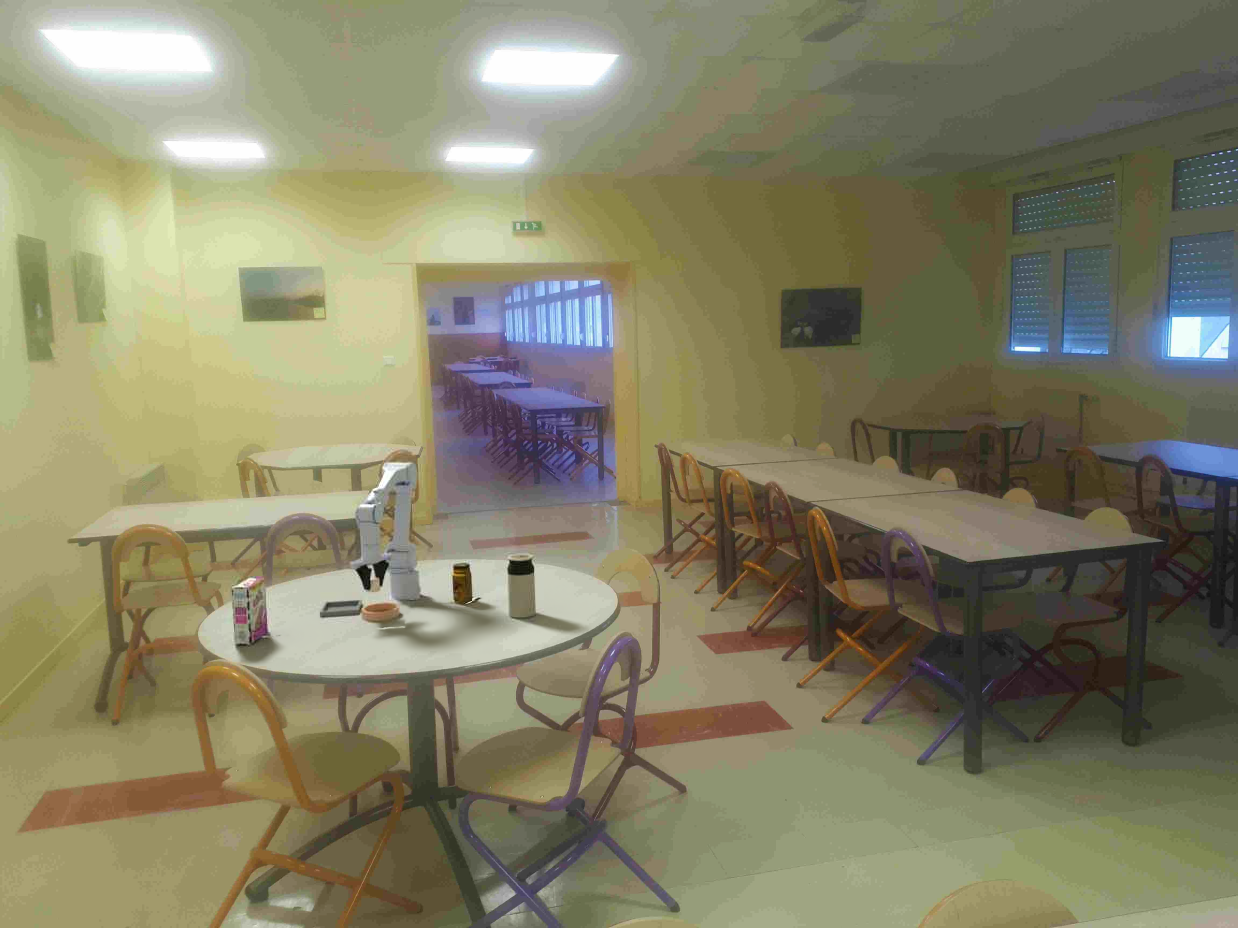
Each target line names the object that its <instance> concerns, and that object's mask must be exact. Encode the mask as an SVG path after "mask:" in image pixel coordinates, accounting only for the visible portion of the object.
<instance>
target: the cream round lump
mask: <svg viewBox="0 0 1238 928" xmlns="http://www.w3.org/2000/svg"><path fill="white" fill-rule="evenodd" d="M370 583H371V588H370V590H365V591H366V593H376V592H380V591H381V587H380V580H379V578H378V577H375V576H374V577H373V576H371V578H370Z"/></svg>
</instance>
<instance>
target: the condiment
mask: <svg viewBox="0 0 1238 928" xmlns="http://www.w3.org/2000/svg"><path fill="white" fill-rule="evenodd" d="M452 568H453V569H452V574H451V575H452V576H451V578H452V593H453V594H452V598H453V600H454V603H453V602H452V603H451V602H450V601H449V602H448V603H449V604H455V603H468V602H470V601H472V598H473V597H474V596H473V578H472V577H473V576H472V572H471V565H470V564H469V563H467V562H458V563H455V564H453V566H452Z"/></svg>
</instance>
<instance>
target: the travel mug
mask: <svg viewBox="0 0 1238 928" xmlns="http://www.w3.org/2000/svg"><path fill="white" fill-rule="evenodd" d="M533 558H534V555H532V554H530V553H514V554H511V555H508V556H507V559H508V562H509V563H508V566H507V591H508V592H507V593H508V594H507V597H508V614H509V616H510V617H512V618H516V619H527V617H528V618H531V617H533V616H535V615H536V613H537V612H536V611H537V610H536V581H535V579H536V577H535V566H534V563H533Z"/></svg>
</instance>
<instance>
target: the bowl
mask: <svg viewBox="0 0 1238 928" xmlns="http://www.w3.org/2000/svg"><path fill="white" fill-rule="evenodd" d="M360 612H361V619H362V620H365V621H369V622H383V621H384V622H385V621H389V620H393V619H395V618H397V617H399V616H400V614H401V613H400V612H401V611H400V604H398V603H395V602H375V603H371V604H367V605H365V606H363V607H362V608H361V609H360Z"/></svg>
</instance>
